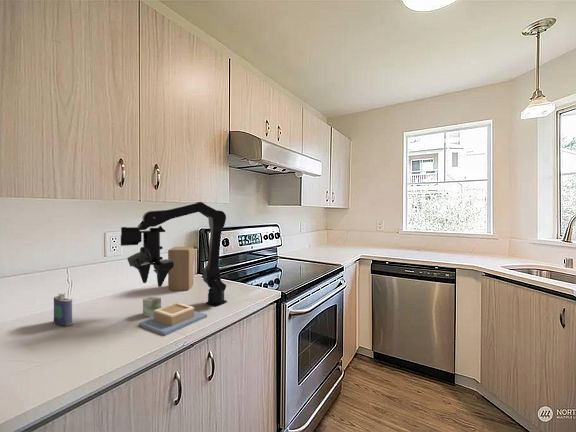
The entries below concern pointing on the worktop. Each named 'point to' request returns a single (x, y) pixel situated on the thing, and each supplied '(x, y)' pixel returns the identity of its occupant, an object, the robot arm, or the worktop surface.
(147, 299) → the sage block
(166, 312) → the build base
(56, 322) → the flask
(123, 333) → the worktop surface
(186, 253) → the wooden block
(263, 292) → the worktop surface
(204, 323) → the worktop surface
